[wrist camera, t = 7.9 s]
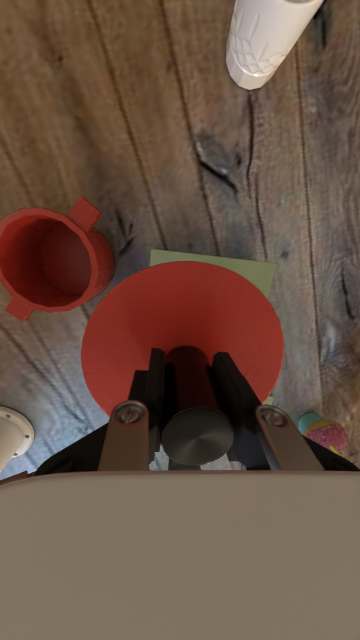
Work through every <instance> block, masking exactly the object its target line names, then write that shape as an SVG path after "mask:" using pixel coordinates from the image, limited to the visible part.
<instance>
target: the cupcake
mask: <svg viewBox="0 0 360 640" xmlns="http://www.w3.org/2000/svg"><path fill="white" fill-rule="evenodd" d="M298 425H299V428H300V430H301V433H302V435H304V436H305V437H307V438H309V439H311V440H313V441H314V442H316V443H318V444H320V445H322V446H323V447H325V448H327V449H329V450H331V451H332V452H334V453H336V454H338V455H340V456H341V457H343V456H342V455H341V454H342V452H343V450H345V448H346V445H347V442H348V440H347V439H348V437H347V433H346V431H345V429H344V427H342V425H341V424H339V423H337V422H335V421H332V420H327V419H324V418H322V417H320V416H319V415H317V414H315V413H308V414H305V415H303V416H302V417H301V418H300V420H299V422H298Z"/></svg>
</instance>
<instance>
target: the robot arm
mask: <svg viewBox="0 0 360 640" xmlns="http://www.w3.org/2000/svg"><path fill="white" fill-rule="evenodd" d="M211 369H212V371H213V374H214V376H215V379H216V381H217V384H218V386H219V389H220V391H221V394H222V396H223V399H224V402H225V404H226V407H227V409H228V412H229V414H230V417H231V419H232V422H233V424H234V428H235V438H234V442H233V444H232V446H231V448H230V449H229V450H228V452H227V456H228V460H229V461H239V462H240V463H241V469H242V470H168V471H149V464H150V463H151V462H152V461H154V456H155V452H159V451H160V425H161V421H162V416H163V405H164V379H165V351H161V348H152V349H151V356H150V362H149V369H148V370H135V373H134V377H133V381H132V384H131V388H130V392H129V396H128V399H127V400H126V401H123V402H121V403H119V404H117V405H116V406H115V407H114V408H113V410H112V412H111V415H110V419H109V422H108V423H107V424H105V425H103V426H102V427H100V428H98V429H97V430H95V431H93V432H91V433H90V434H88V435H86V436H85V437H83V438H81V439H80V440H78V441H76V442H75V443H73V444H71V445H70V446H68V447H66V448H65V449H63V450H61V451H60V452H58V453H56V454H55V455H53V456H51V457H50V458H49V459H47V460H46V461H45V462H43V464H42V465H41V466H40V467H39V468H38V469H37V471H35V472H32V473H30V474H28V473H27V471H24V472H22V473H19V474H16V475H14V476H11V477H8V478H6V479H3V480H1V481H0V640H360V469H359V468H357V467H356V466H355V465H354V464H353V463H351V462H350V461H348V460H347V459H345V458H343V457H341V456H340V455H338V454H336V453H334V452H332V451H331V450H329V449H327V448H325V447H323V446H322V445H320V444H318V443H316V442H314V441H313V440H311V439H309V438H307V437H305V436H304V435H302V434H301V433H300V432H299V430H298V429H297V427H296V426H295V424H294V423H293V421H292V420H291V418H290V417H289V416H288V414H286V413H285V412H284V411H283V410H281V409H279V408H278V407H275V406H272V405H268V404H262V403H261V402H260V400H259V399H258V397H257V395H256V394H255V392H254V391H253V389H252V388H251V386H250V384H249V383H248V381H247V380H246V378H245V377H244V376H243V375H242V374H241V372H240V371H239V369H238V368H237V366H236V364H235V363H234V361H233V360H232V358H231V356H230V355H229V353H228V352H217V354H214V356H213V362H212V368H211ZM33 440H34V430H33V427H32V425H31V424H30V422H29V421H28V420H27V419H26V418H25V417H24V416H23V415H22V414H20V413H18V412H17V411H15V410H12V409H10V408H7V407H3V406H0V472H1V471H2V470H3V468H4V467H5V466H6V464H7V463H8V462H9V460H10V459H11V458H15V457H18V456H20V455H22V454H23V453H25V452H26V451H27V450H28V448H29V447H30V446H31V444H32V442H33Z"/></svg>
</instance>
